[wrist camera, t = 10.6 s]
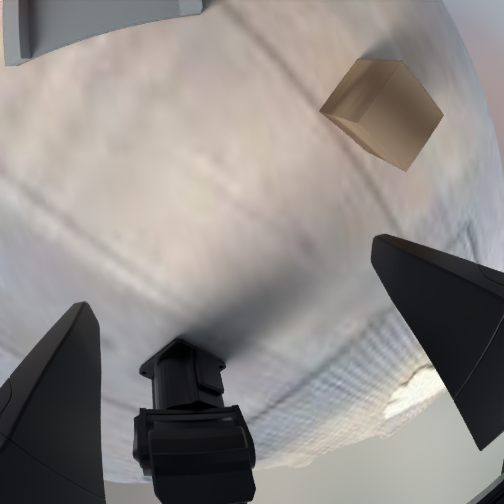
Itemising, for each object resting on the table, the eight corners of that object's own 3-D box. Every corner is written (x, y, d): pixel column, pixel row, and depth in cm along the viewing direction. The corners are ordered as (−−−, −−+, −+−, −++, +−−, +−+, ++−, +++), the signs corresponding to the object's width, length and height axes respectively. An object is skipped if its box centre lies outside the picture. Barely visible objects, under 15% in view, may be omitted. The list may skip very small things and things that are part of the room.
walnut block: (365, 150, 21) (405, 171, 17) (318, 111, 19) (357, 123, 15) (398, 102, 20) (443, 115, 15) (356, 59, 17) (401, 60, 13)
